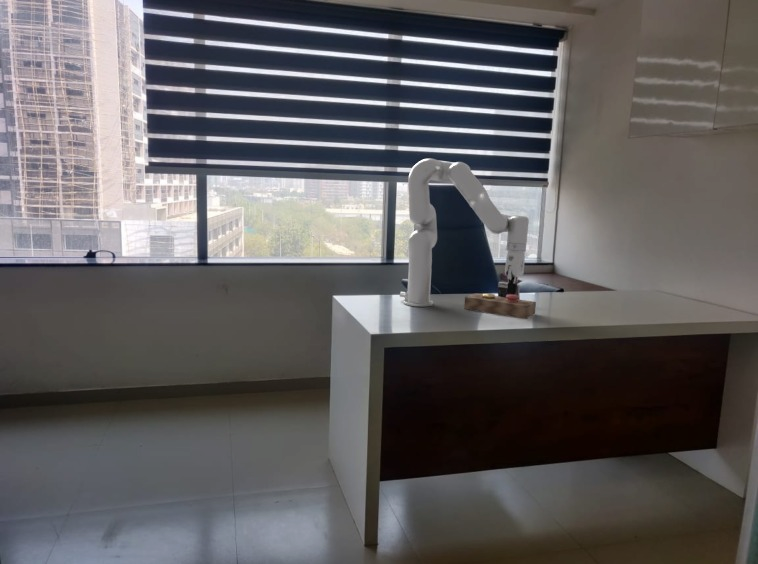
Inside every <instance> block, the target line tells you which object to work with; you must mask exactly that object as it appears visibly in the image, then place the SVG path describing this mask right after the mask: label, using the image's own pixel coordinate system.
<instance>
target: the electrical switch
mask: <svg viewBox="0 0 758 564" xmlns="http://www.w3.org/2000/svg"><path fill="white" fill-rule="evenodd" d="M507 288H508V282H504V281H499V282H498V285H497V296H498V297H505V298H506V295H518V296H519V300H521V298H520V297H521V296H520V291H521V290H520V284H518V283H517V290H516V293H515V294H512V293H507Z"/></svg>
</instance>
